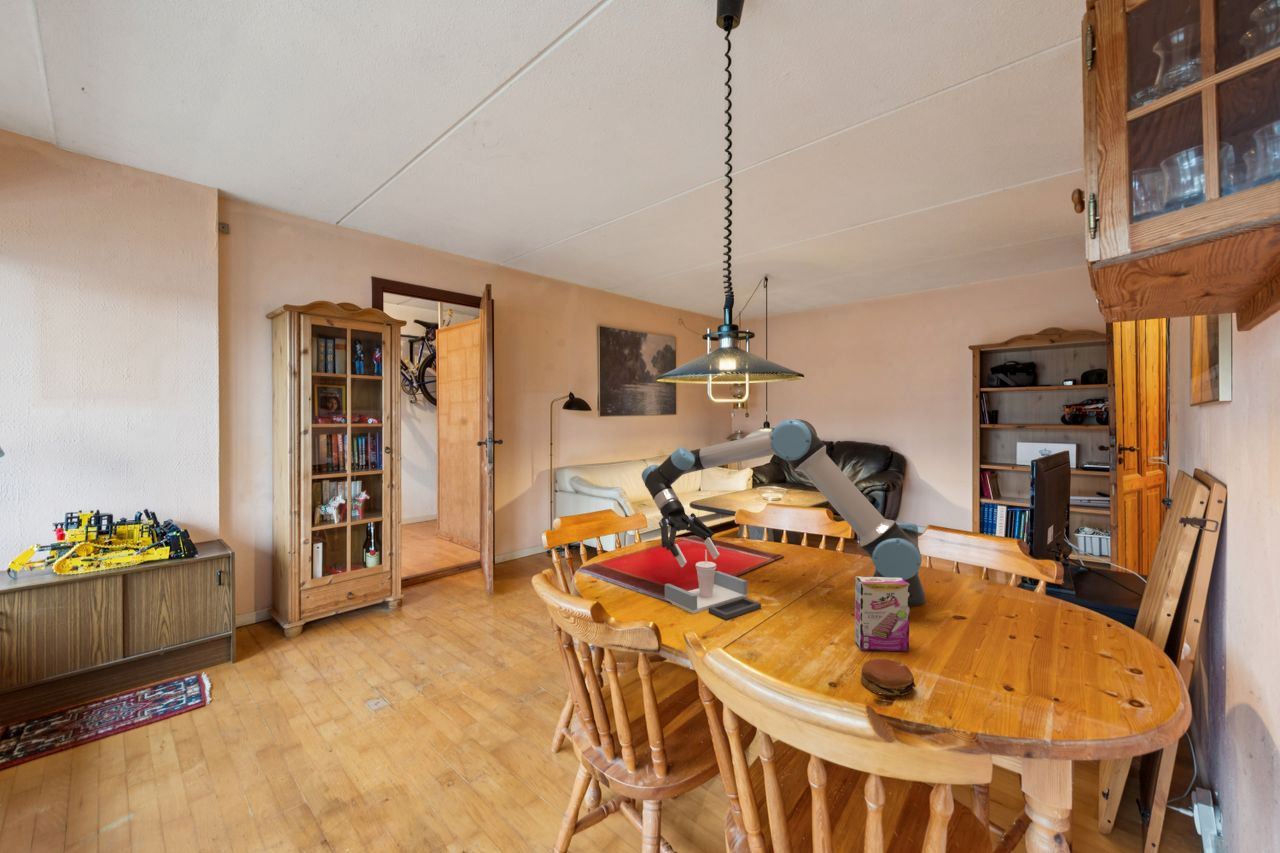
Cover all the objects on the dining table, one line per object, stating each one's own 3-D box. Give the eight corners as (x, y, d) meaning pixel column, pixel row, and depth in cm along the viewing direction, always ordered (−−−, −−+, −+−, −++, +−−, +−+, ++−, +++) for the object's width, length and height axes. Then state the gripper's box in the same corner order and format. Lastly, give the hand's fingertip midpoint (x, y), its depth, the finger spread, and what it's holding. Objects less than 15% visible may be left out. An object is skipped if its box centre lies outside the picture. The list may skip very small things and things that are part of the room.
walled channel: (747, 596, 156) (747, 580, 156) (693, 613, 143) (692, 596, 143) (717, 585, 167) (717, 570, 167) (664, 600, 154) (664, 584, 154)
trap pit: (760, 608, 146) (760, 603, 146) (726, 620, 138) (726, 615, 138) (742, 601, 152) (742, 596, 152) (708, 612, 144) (708, 607, 144)
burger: (852, 683, 105) (852, 661, 105) (877, 671, 110) (877, 649, 110) (898, 706, 97) (898, 682, 97) (924, 691, 102) (924, 668, 102)
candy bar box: (861, 651, 119) (860, 582, 119) (854, 642, 124) (853, 575, 124) (910, 653, 118) (910, 583, 118) (902, 643, 123) (901, 576, 122)
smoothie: (718, 593, 157) (717, 548, 157) (714, 600, 151) (714, 553, 151) (698, 591, 159) (697, 546, 159) (693, 598, 153) (692, 552, 153)
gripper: (692, 508, 178) (723, 560, 166) (634, 517, 163) (663, 574, 151) (702, 494, 173) (735, 547, 161) (643, 503, 159) (674, 561, 147)
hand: (700, 560), depth 156 cm, fingers open, 13 cm apart
